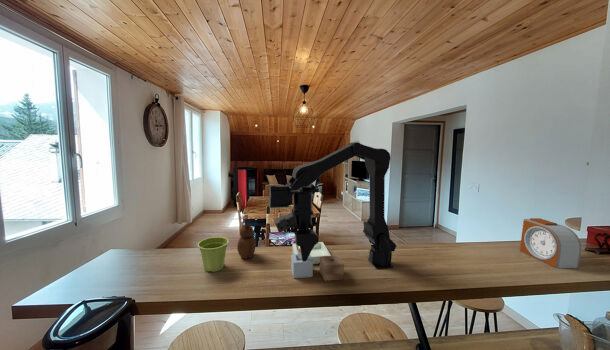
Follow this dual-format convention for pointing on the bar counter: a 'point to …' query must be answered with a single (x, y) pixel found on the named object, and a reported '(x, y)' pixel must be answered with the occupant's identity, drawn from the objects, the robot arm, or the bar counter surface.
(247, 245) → the wooden figurine
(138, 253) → the bar counter surface
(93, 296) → the bar counter surface
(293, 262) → the bored block
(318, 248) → the tray
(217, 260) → the plant pot
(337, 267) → the walnut block
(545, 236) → the alarm clock
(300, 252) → the cylinder
